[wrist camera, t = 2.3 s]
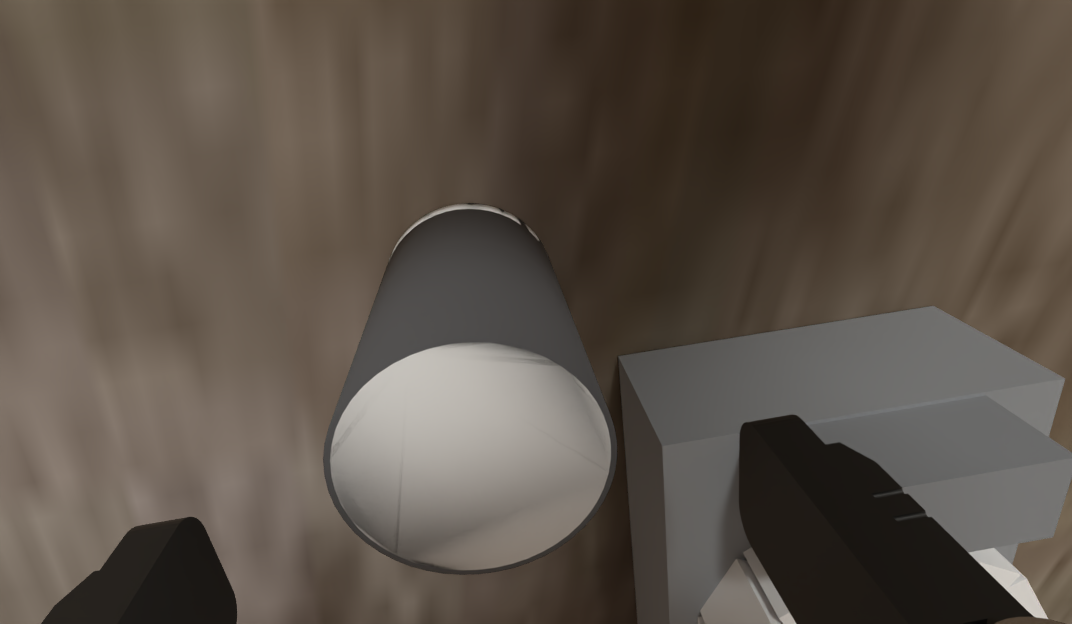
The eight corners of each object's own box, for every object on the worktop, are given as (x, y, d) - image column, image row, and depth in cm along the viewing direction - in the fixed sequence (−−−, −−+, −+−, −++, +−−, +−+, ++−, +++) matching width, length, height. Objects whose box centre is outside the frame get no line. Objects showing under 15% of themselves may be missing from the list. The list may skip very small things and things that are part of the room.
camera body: (598, 359, 18) (668, 524, 12) (933, 305, 19) (1171, 437, 12) (625, 664, 24) (682, 884, 18) (880, 617, 24) (1024, 815, 18)
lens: (369, 216, 16) (285, 363, 8) (542, 191, 16) (606, 313, 9) (405, 368, 18) (363, 594, 10) (560, 343, 18) (625, 549, 11)
